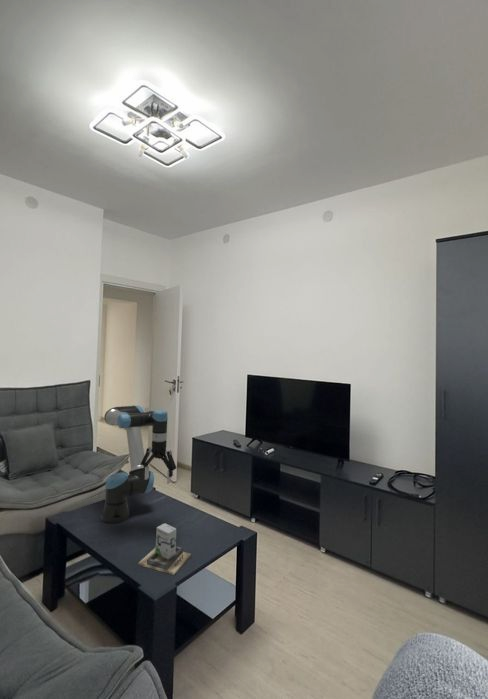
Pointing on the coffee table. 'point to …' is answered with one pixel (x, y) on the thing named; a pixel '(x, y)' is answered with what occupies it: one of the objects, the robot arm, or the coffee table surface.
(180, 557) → the header board
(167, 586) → the coffee table surface
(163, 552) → the ink box
